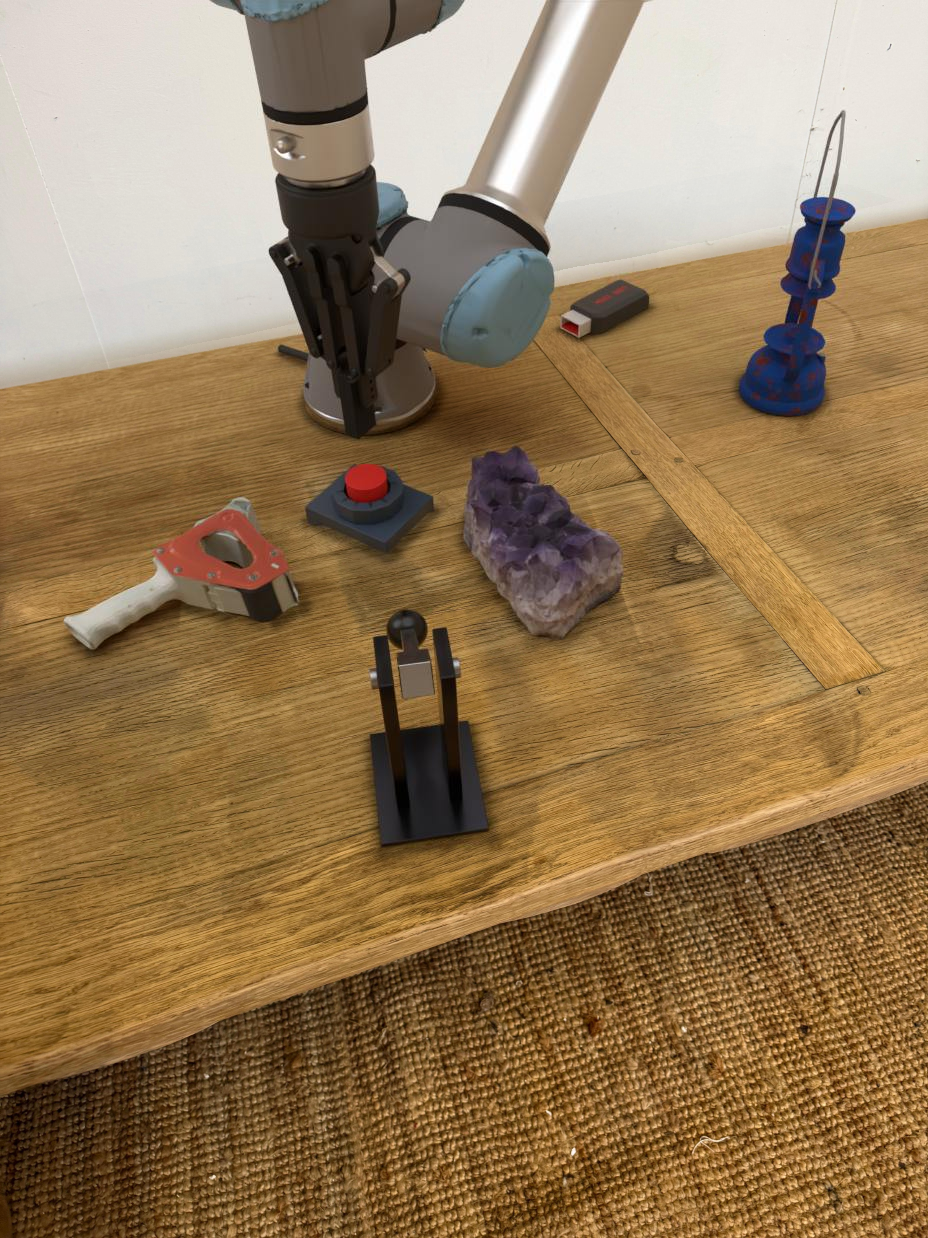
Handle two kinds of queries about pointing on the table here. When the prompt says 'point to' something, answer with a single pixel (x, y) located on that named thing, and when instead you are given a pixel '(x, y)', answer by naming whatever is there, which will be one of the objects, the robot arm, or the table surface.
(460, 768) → the switch bracket
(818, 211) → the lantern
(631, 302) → the usb drive
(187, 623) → the table surface
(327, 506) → the button box
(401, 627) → the switch lever
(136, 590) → the tape dispenser
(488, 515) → the geode
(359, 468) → the button
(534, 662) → the table surface
